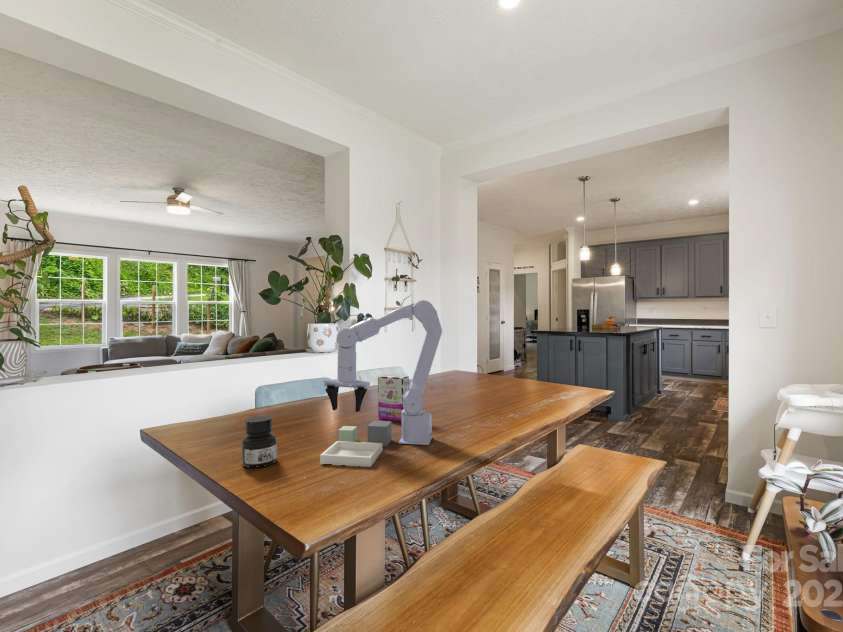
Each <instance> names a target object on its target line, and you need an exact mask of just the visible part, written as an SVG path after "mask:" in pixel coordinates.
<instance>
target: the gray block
mask: <svg viewBox="0 0 843 632" xmlns="http://www.w3.org/2000/svg"><path fill="white" fill-rule="evenodd" d="M392 427H393V426H392V421H388V420H373V421H371V422H370V423H369V424H368V425H367V442H370V443H383V447H388V446H389V444H390V443H391V441H392V437H393V436H392V434H393V433H392Z"/></svg>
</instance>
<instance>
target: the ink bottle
mask: <svg viewBox="0 0 843 632" xmlns="http://www.w3.org/2000/svg"><path fill="white" fill-rule="evenodd" d="M244 423H245V434H246V435H245V436H244V438H242V440H241V464H242V465H243V466H244V465H245V466H249V467H256V466H263V467H265V466H264V465H267V466H269V465H268V464H270V465H272V464H271V463H273V462H274V461H275V462H277V458H278V441H277V440H278V439H277V436H276V434H274V433H273V416H271V415H255V416H251V417H248V418H245V422H244ZM275 462H274V463H275ZM274 463H273V464H274ZM245 466H244V467H245ZM249 467H248V468H249Z"/></svg>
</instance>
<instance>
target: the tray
mask: <svg viewBox="0 0 843 632" xmlns="http://www.w3.org/2000/svg"><path fill="white" fill-rule="evenodd" d="M383 447H384V446H383V443H370V442H368V441H367V442H366V441H356V442H348V441H339V440H336V441H334V443H332V444H331V445H330V446H329V447H328V448H327V449H326V450H324V451H323V452H322V453H321V454H320V455H319V462H320V463H319V465H323V464H332V465H331V466H341V465H346V466H345V467H359V466H360V467H363V468H371V467H372V466H373V465H374V464H375V462H376V461H377V460H378V458H379V457H380V456H381V455H382V453H383V452H384V451H383V450H384V449H383Z"/></svg>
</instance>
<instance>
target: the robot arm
mask: <svg viewBox="0 0 843 632" xmlns="http://www.w3.org/2000/svg"><path fill="white" fill-rule="evenodd" d="M438 315H439V314H438V311H437V310H436V308H435V307H434V305H433V304H432V303H431V302H430V301H428V300H424V299H423V300H419V301H417V302H416V303H415V302H413V303H409V304H406V305H403V306H400V307H398V308H397V309H394V310H392V311H391V312H387V313H386V314H383V315H382V316H380V317H378V318H374V317H372V316H370V317H367V316H365V317H363V318H362V321H359V322H357V323H354V324H349V325H348V327H349V328H347V327H346V328H342V329H341V330H340V331H338V333H337V335H336V342H337V344H338V346H337V350H338V351H337V377H336V379H329V378H327V379H324V380H323V387H326V388H325V392H326V394H327V396H328V398H329V401H330V404H331V407H332V408H331V409H332V411H337V409H338V402H339V401H338V396H339V390H340V388H351V389H354V396H355V397H354V398H355V412H356V413H359V412H360V411H361V407H362V403H363V400H364V397H365V396H366V393H367V392H368V389H370V388H371V385H370V384H371V382H370V381H365V380H357V343H358V342H363V341H365V340H367V339H371V338H372V337H375V336H377V335H379V333H380V330H381V329H382V328H384V327H386V326H388V325H390V324H393V323H395V322H397V321H398V322H399V320H402V319H414V318H413V317H415V319H416V320H417V321H418V322H419V323H421V324H422V327H423V328H424V331H425V332H426V334H425V337H424V340H423V342H422V346H421V350H420V353H419V355H418V360H417V362H416V365H415V369H414V372H413V375H412V378H411V381H410V382H409V389H408V390H407V391H406V392H405V393H404V396H403V410H402V422H401V438H400V439H399V440H398V442H397V443H398V444H401V445H402V444H403V445H420V446H421V445H422V446H428V445H429V446H430V443H431V442H432V438H433V422H432V421H433V418H432V417H433V416H432V413H430V412H426V411H425V409H424V399H423V397H424V395H425V389H426V384H427V381H428V378H429V375H430V371H431V368H432V366H433V362H434V358H435V356H436V354H437V350H438V346H439V343H440V340H441V336H442V333H443V329H442V325H441V322H440V318H439V316H438Z"/></svg>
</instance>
